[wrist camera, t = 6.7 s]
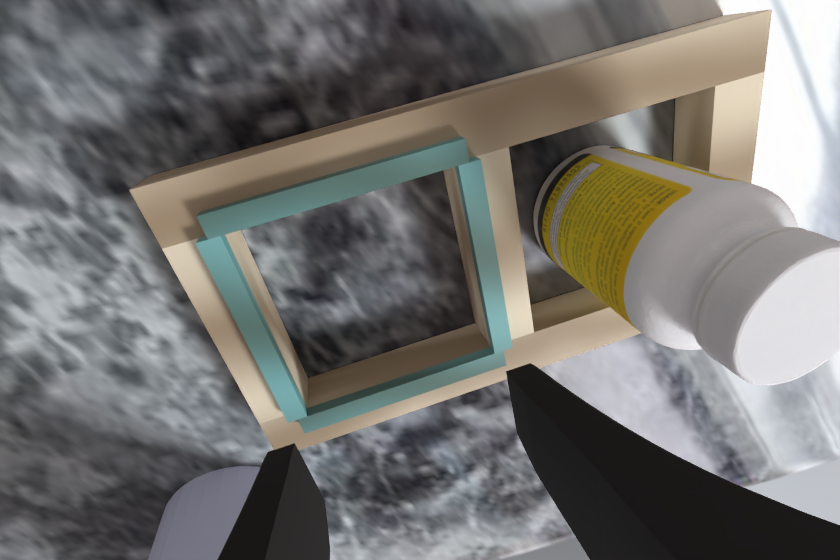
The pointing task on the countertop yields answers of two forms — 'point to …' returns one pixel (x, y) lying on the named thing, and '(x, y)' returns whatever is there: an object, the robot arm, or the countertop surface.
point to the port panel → (471, 208)
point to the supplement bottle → (695, 260)
